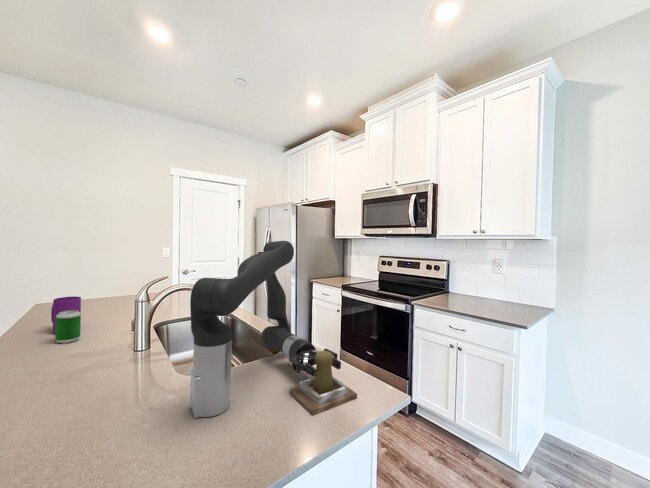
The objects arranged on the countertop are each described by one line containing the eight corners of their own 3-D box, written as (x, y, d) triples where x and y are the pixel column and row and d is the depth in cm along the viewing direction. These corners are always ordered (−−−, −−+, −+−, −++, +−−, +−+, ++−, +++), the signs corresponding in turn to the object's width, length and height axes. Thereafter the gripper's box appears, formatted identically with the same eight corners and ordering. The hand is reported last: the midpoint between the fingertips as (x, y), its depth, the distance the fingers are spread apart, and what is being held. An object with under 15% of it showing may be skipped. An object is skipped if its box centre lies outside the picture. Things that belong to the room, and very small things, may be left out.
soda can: (83, 340, 117) (83, 311, 117) (58, 346, 111) (59, 315, 111) (76, 336, 121) (77, 308, 121) (52, 341, 115) (53, 312, 115)
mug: (59, 336, 121) (60, 301, 121) (39, 331, 127) (40, 297, 127) (84, 330, 130) (85, 297, 130) (64, 325, 135) (65, 294, 135)
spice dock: (312, 415, 71) (312, 402, 71) (289, 393, 81) (289, 382, 81) (357, 397, 80) (357, 386, 80) (331, 380, 90) (331, 370, 90)
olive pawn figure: (331, 398, 77) (332, 357, 77) (310, 395, 78) (311, 355, 78) (335, 387, 83) (336, 349, 83) (315, 384, 84) (316, 347, 84)
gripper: (278, 342, 88) (306, 361, 75) (317, 335, 96) (348, 350, 83) (278, 366, 88) (305, 390, 75) (316, 357, 96) (347, 376, 83)
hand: (327, 369), depth 79 cm, fingers open, 8 cm apart
